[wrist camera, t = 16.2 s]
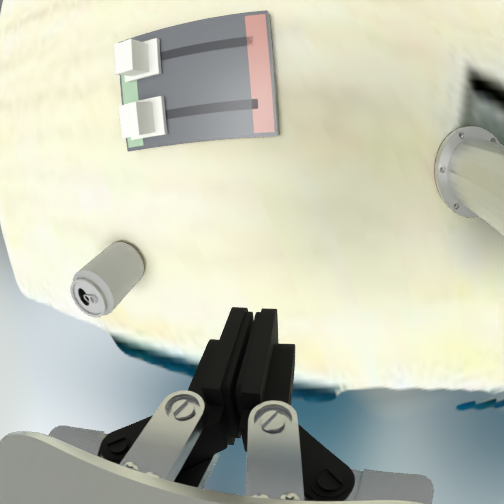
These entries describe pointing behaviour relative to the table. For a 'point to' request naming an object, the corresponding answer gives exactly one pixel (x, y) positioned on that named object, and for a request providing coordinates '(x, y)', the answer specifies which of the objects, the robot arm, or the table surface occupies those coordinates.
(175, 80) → the slider switch panel
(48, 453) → the robot arm
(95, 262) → the can
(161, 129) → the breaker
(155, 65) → the breaker
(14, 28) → the table surface
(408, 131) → the table surface
